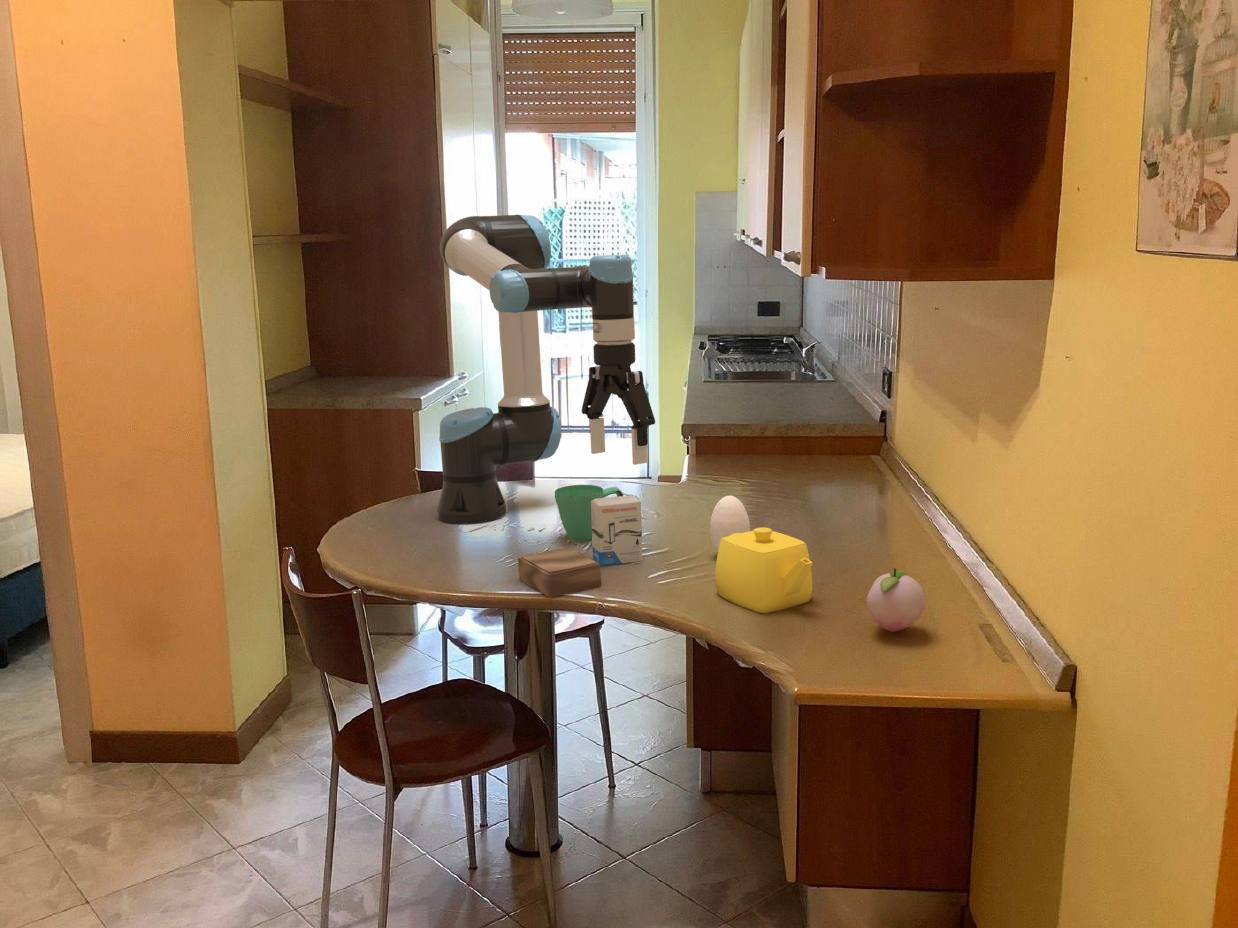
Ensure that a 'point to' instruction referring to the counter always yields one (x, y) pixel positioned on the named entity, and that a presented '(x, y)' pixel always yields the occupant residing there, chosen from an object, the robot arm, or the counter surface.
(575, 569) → the plinth
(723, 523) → the egg
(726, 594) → the teapot
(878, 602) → the decorative fruit
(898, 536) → the counter surface
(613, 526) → the ink box
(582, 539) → the mug
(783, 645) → the counter surface
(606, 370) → the robot arm
